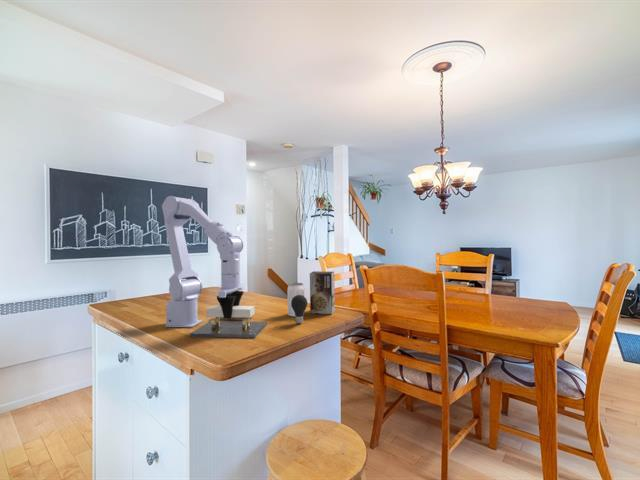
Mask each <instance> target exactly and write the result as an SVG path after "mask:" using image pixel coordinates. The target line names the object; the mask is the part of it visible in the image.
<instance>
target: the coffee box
mask: <svg viewBox="0 0 640 480" xmlns="http://www.w3.org/2000/svg"><path fill="white" fill-rule="evenodd" d="M335 300H336V299H335V271H323V270H322V271H321V270H320V271H314V270H313V271H311V272H309V307H310V308H309V310H310V311H309V313H310V314H315V313H319V315H333V313H334V312H336V305H335V303H336V301H335Z"/></svg>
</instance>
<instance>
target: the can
mask: <svg viewBox="0 0 640 480" xmlns="http://www.w3.org/2000/svg"><path fill="white" fill-rule="evenodd" d="M296 295H303V296H304V297H305V287H304V283H301V282H291V283H288V286H287V315H288V317H292V318H293V317H294V318H296V316H295V312H294V310H293V308H292V306H291V301H292V299H293V298H294V297H295V296H296Z"/></svg>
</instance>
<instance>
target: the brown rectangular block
mask: <svg viewBox="0 0 640 480" xmlns="http://www.w3.org/2000/svg"><path fill="white" fill-rule="evenodd" d="M242 319H245V317H231V318H224V317H220V321H242ZM251 319H252V316H251V317H250V320H251Z"/></svg>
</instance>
